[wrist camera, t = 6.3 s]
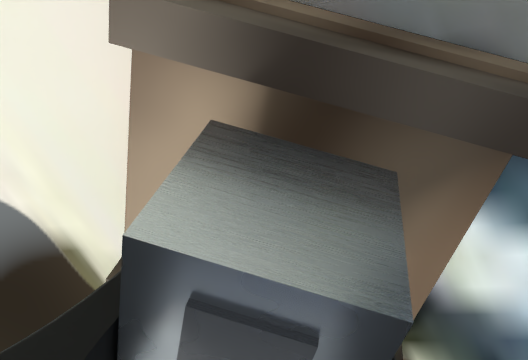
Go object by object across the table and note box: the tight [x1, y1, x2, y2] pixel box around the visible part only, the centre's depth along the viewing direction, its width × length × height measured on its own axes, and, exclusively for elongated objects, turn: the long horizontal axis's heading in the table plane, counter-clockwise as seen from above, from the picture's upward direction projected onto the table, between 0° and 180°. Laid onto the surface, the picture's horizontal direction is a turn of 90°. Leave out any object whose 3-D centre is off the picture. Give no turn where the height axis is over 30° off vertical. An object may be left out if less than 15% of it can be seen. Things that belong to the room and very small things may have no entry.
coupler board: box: [106, 0, 528, 360], centre depth 16 cm, size 12×13×3 cm
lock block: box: [117, 120, 413, 360], centre depth 11 cm, size 5×7×5 cm
